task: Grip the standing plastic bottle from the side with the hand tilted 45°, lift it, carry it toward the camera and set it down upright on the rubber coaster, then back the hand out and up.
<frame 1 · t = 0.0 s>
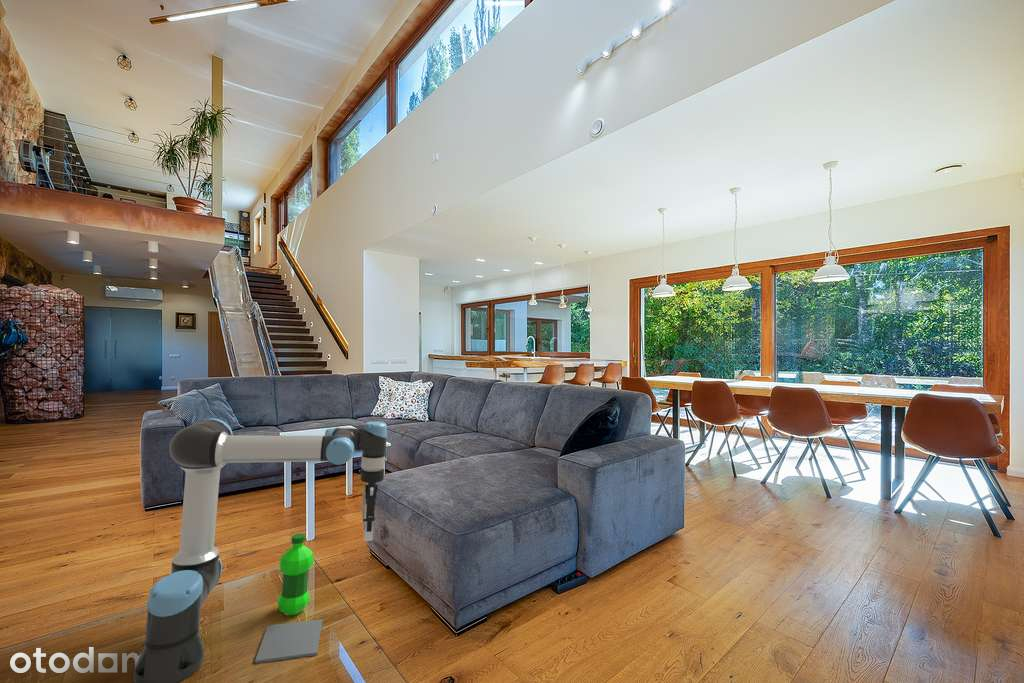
hand: (368, 532, 147), 28 cm above the table, tool pointing down, fingers open, 13 cm apart
plastic bottle: (292, 611, 147), on the table
rubber coaster: (291, 641, 132), on the table
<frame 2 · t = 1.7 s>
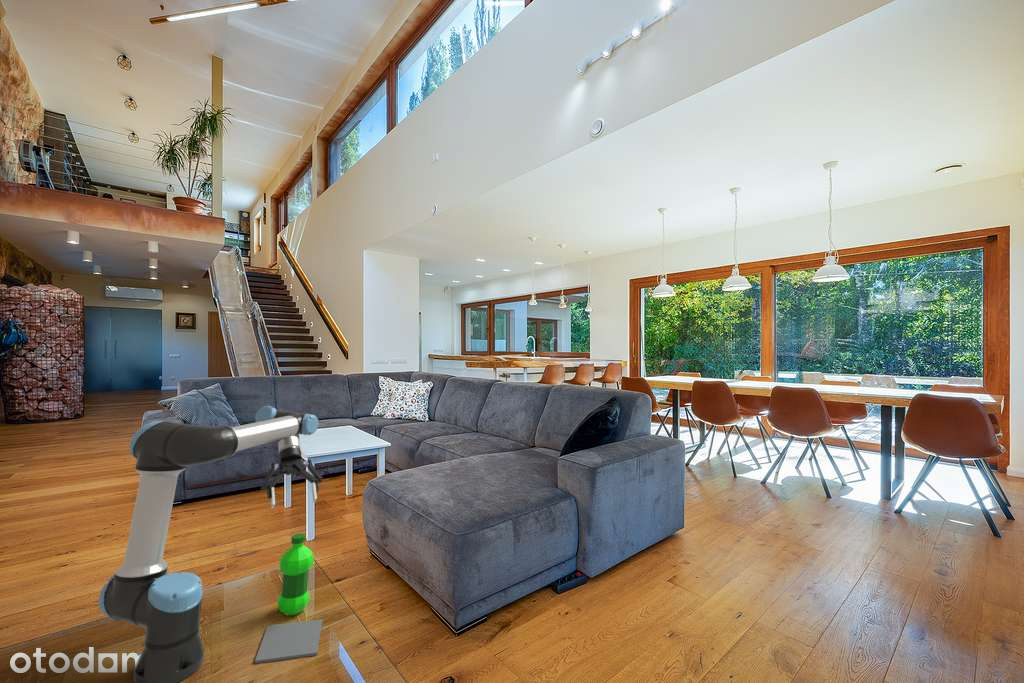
hand: (294, 503, 156), 33 cm above the table, tool tilted 45°, fingers open, 13 cm apart
nothing on the table moved.
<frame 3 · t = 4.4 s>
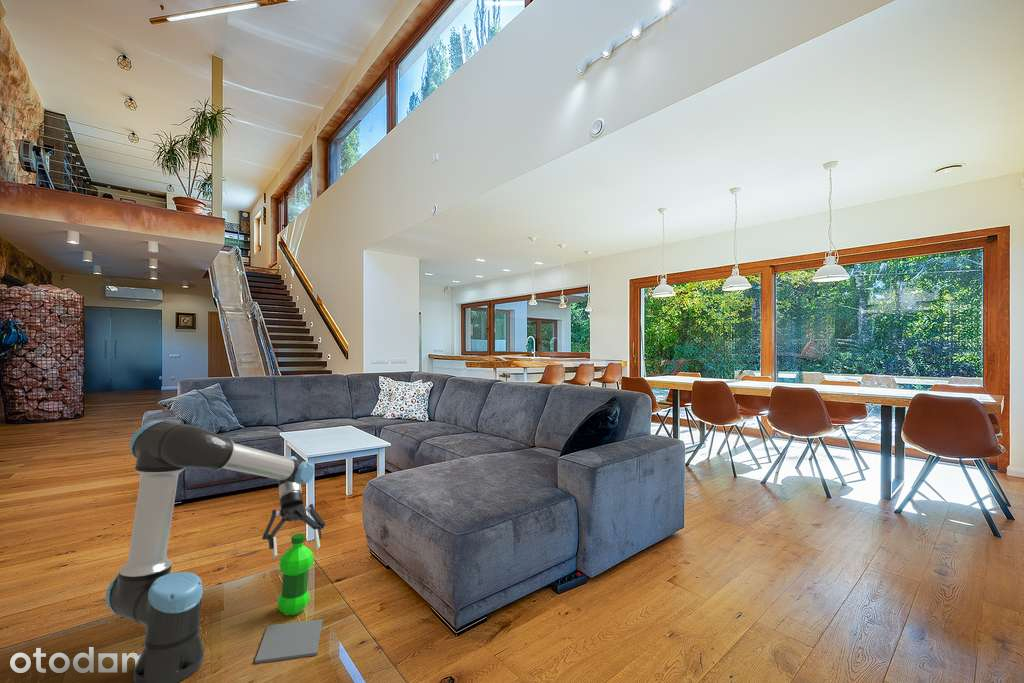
hand: (297, 553, 151), 17 cm above the table, tool tilted 45°, fingers open, 13 cm apart
nothing on the table moved.
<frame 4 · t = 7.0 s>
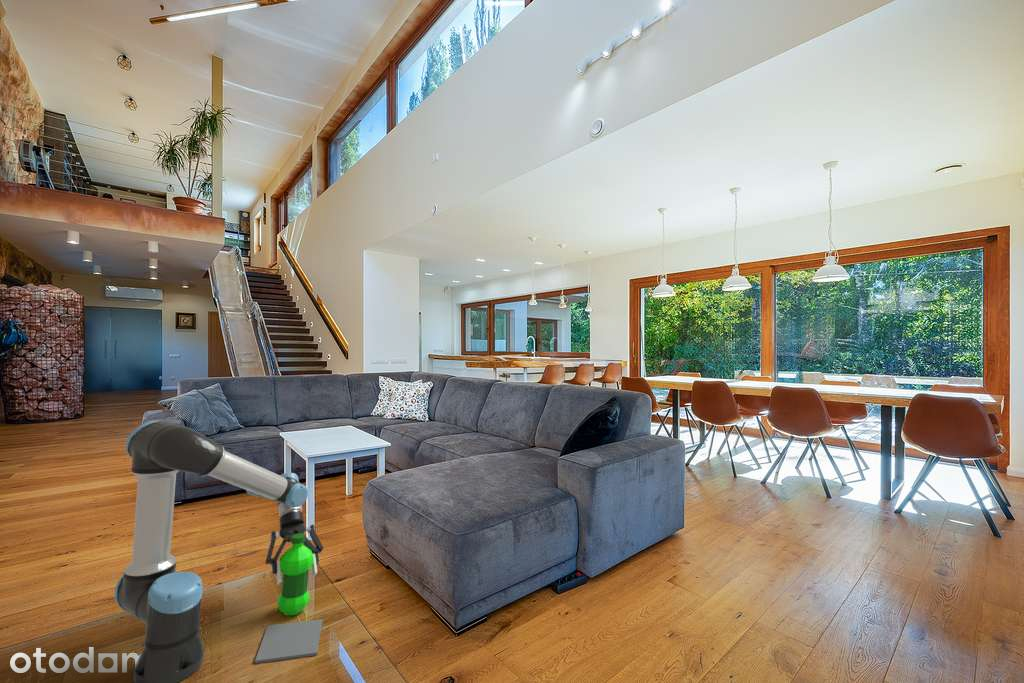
hand: (297, 578, 145), 12 cm above the table, tool tilted 45°, fingers closed on plastic bottle, 10 cm apart
plastic bottle: (292, 611, 147), on the table, touching gripper
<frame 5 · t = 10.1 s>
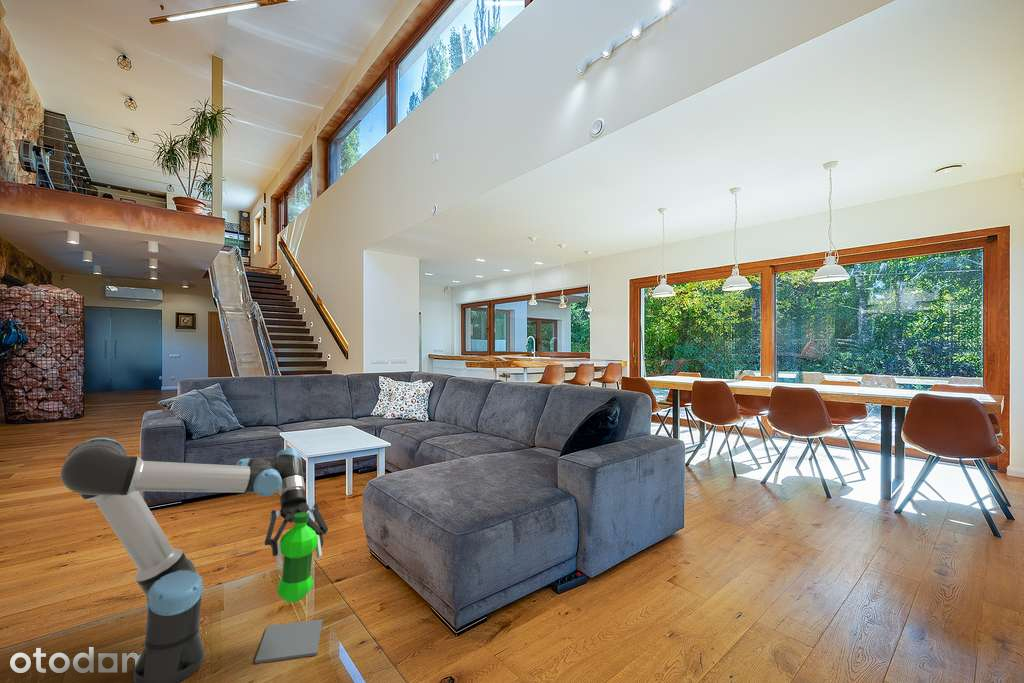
hand: (300, 561, 131), 25 cm above the table, tool tilted 45°, fingers closed on plastic bottle, 10 cm apart
plastic bottle: (294, 598, 133), point 13 cm above the table, touching gripper
when the fingers open (14 cm above the table, at t = 13.6 s): plastic bottle drops 2 cm, resting on rubber coaster.
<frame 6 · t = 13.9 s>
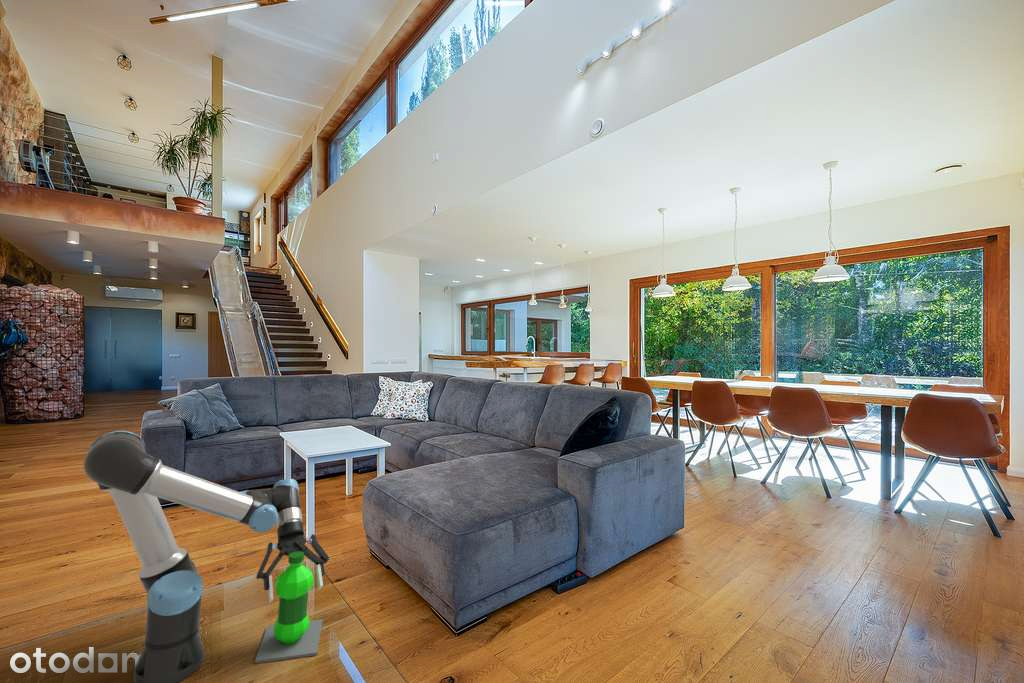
hand: (296, 594, 131), 15 cm above the table, tool tilted 45°, fingers open, 13 cm apart
plastic bottle: (290, 638, 132), point 1 cm above the table, touching rubber coaster
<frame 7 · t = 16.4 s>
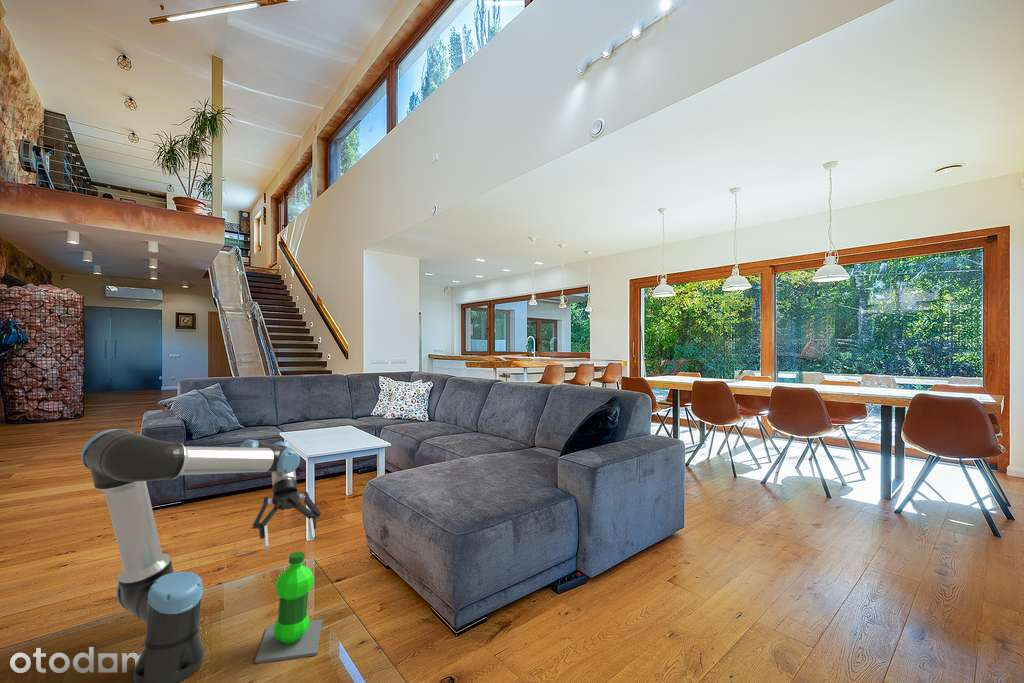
hand: (290, 543, 141), 25 cm above the table, tool tilted 45°, fingers open, 13 cm apart
nothing on the table moved.
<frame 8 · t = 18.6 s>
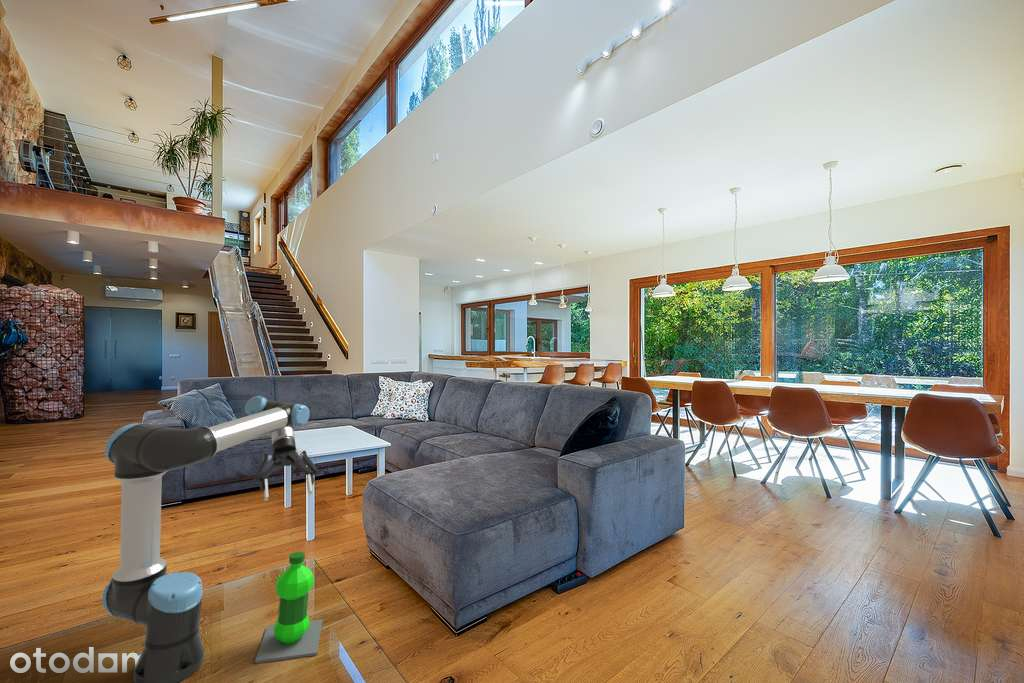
hand: (289, 495, 149), 38 cm above the table, tool tilted 45°, fingers open, 13 cm apart
nothing on the table moved.
at the end: plastic bottle inside the target area on the rubber coaster (0.2 cm from its centre), point 0.6 cm above the rubber coaster's base; plastic bottle tilted 0°; the gripper is holding nothing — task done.
